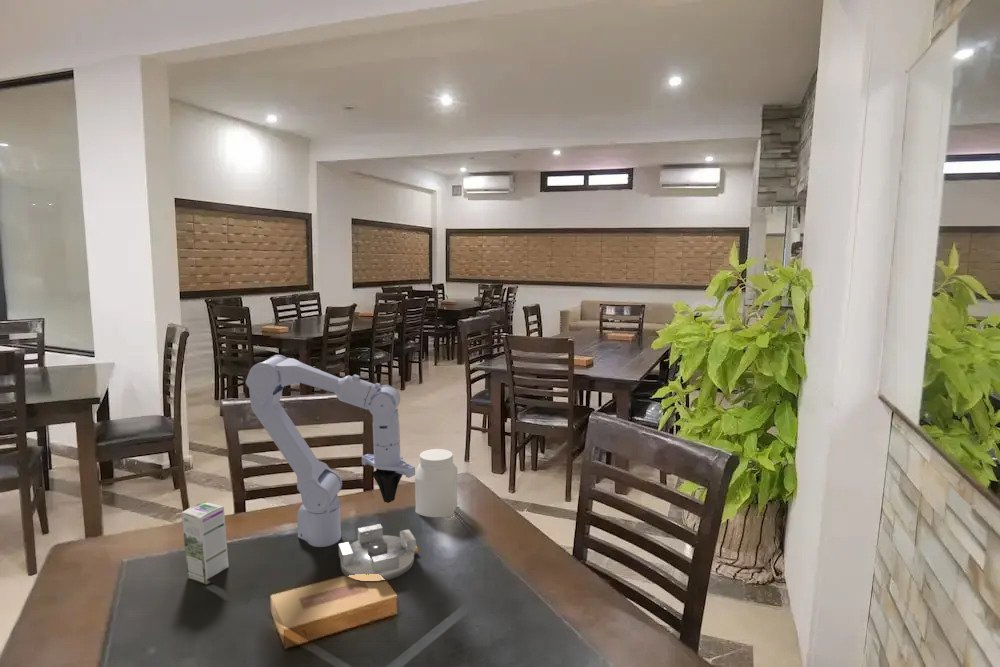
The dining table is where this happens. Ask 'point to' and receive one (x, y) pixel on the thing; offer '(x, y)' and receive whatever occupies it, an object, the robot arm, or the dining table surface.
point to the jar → (436, 484)
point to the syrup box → (205, 541)
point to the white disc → (378, 553)
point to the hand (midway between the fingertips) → (389, 500)
